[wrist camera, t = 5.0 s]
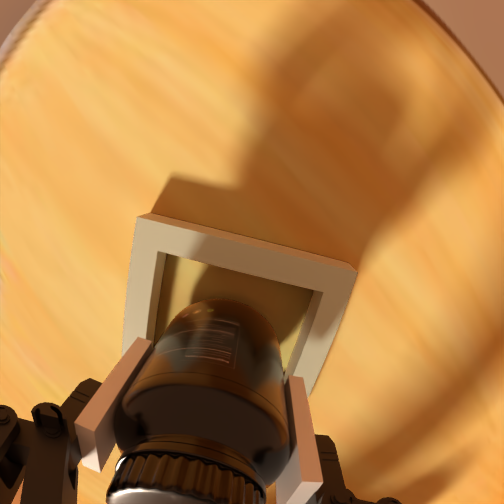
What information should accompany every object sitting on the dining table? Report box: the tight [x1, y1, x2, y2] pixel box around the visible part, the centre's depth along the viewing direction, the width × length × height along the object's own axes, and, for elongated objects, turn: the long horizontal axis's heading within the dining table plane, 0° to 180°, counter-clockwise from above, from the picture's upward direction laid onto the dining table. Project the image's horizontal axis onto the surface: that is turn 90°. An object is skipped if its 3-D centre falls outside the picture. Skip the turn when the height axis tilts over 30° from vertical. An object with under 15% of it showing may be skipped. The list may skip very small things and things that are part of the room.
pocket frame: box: [122, 213, 358, 399], centre depth 18 cm, size 12×12×2 cm
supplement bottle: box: [106, 299, 291, 504], centre depth 12 cm, size 7×7×12 cm
